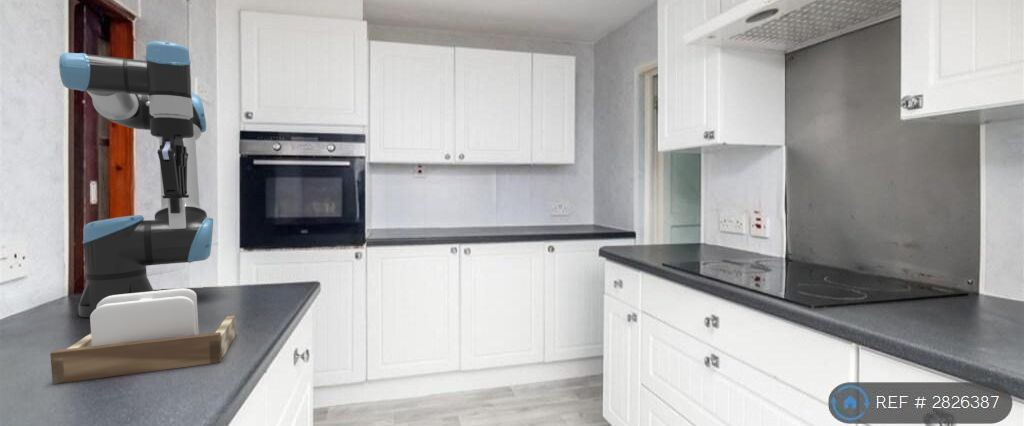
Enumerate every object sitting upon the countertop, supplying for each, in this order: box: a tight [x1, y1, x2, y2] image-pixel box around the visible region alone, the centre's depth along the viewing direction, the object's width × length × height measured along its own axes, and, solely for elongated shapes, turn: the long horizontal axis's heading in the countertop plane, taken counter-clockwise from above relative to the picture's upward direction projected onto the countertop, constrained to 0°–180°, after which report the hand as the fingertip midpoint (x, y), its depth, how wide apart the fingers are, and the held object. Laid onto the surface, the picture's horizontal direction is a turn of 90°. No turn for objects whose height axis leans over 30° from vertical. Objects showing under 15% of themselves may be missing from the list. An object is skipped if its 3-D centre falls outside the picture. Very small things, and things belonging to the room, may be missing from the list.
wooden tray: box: [50, 315, 237, 385], centre depth 87 cm, size 16×23×5 cm
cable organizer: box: [89, 287, 199, 346], centre depth 85 cm, size 15×11×12 cm
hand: (177, 228), depth 102 cm, fingers closed
